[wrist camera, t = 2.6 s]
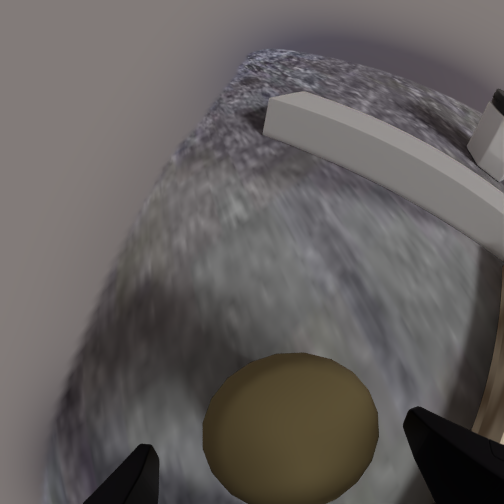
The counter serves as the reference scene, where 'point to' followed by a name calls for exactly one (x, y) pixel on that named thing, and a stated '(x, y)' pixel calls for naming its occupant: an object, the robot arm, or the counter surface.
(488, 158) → the jar
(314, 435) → the olive pepper mill
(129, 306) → the counter surface
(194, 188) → the counter surface
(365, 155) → the decorative molding
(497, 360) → the spice rack
